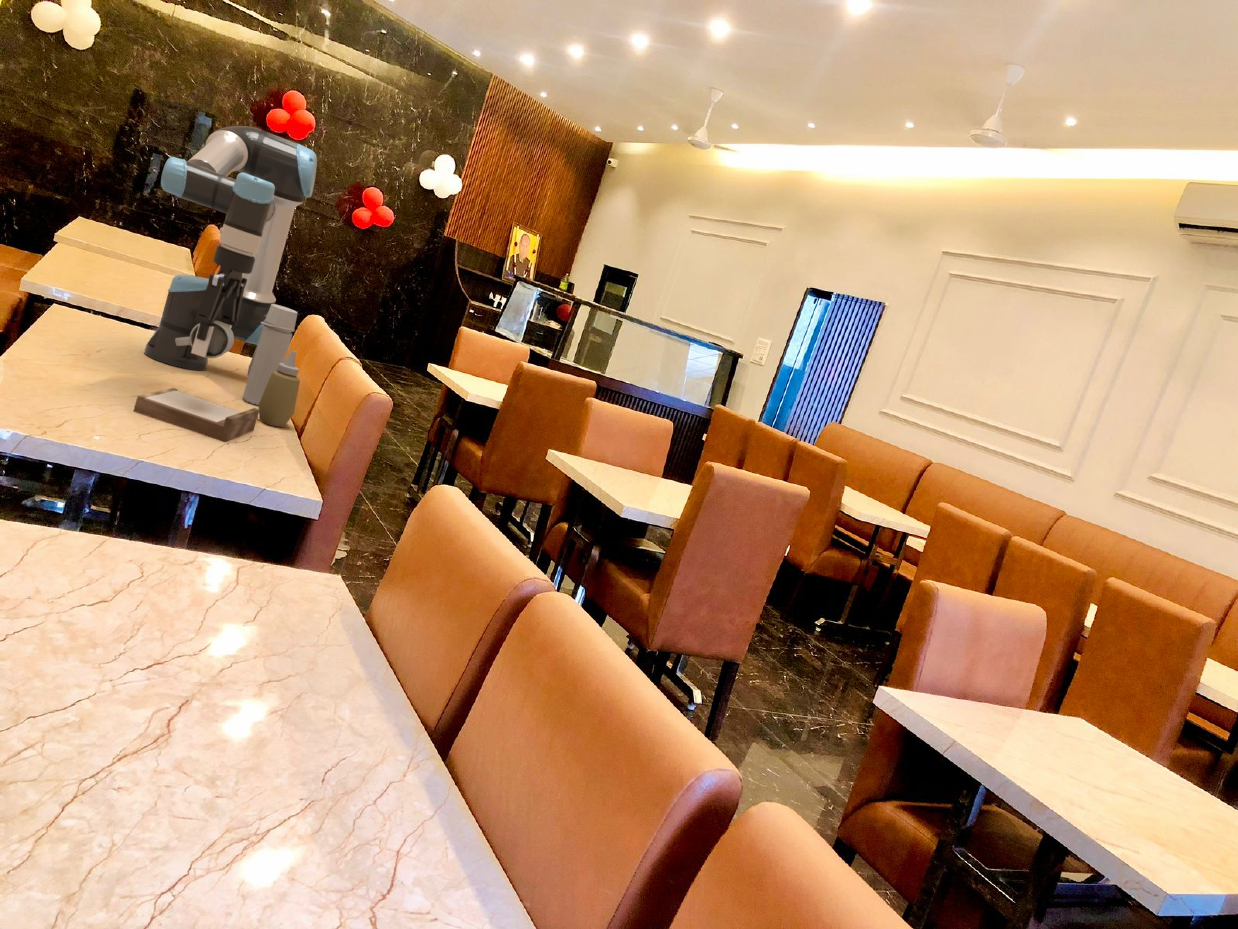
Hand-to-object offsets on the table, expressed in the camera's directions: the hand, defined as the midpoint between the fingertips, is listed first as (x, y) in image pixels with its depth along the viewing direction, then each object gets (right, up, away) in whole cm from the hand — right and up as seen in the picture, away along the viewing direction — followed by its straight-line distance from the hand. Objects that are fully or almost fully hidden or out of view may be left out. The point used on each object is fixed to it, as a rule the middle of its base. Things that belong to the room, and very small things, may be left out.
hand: (207, 353), depth 185 cm
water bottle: (-6, -8, +37) cm, 38 cm away
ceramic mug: (-1, 0, -1) cm, 1 cm away
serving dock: (-4, -14, +3) cm, 15 cm away
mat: (-4, -11, +2) cm, 12 cm away
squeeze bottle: (+4, -14, +23) cm, 27 cm away
